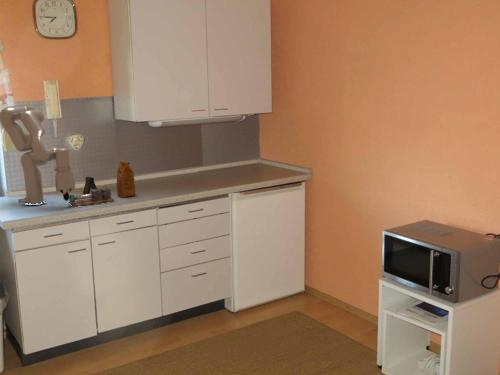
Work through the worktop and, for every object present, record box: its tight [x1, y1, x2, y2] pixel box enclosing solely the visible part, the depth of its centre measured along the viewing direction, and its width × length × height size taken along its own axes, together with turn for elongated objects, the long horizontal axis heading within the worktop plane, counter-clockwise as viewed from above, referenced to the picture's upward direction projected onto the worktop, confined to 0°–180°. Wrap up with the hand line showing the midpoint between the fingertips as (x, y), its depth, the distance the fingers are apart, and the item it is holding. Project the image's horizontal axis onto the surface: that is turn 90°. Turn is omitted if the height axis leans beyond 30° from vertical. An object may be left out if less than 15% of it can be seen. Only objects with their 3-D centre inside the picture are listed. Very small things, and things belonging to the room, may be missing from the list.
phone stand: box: [82, 176, 98, 195], centre depth 375 cm, size 9×6×12 cm, turn 131°
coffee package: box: [116, 159, 136, 198], centre depth 372 cm, size 10×12×22 cm
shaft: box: [68, 192, 104, 202], centre depth 355 cm, size 20×4×4 cm, turn 122°
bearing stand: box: [68, 187, 115, 208], centre depth 356 cm, size 24×12×8 cm, turn 122°
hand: (66, 200), depth 348 cm, fingers closed
